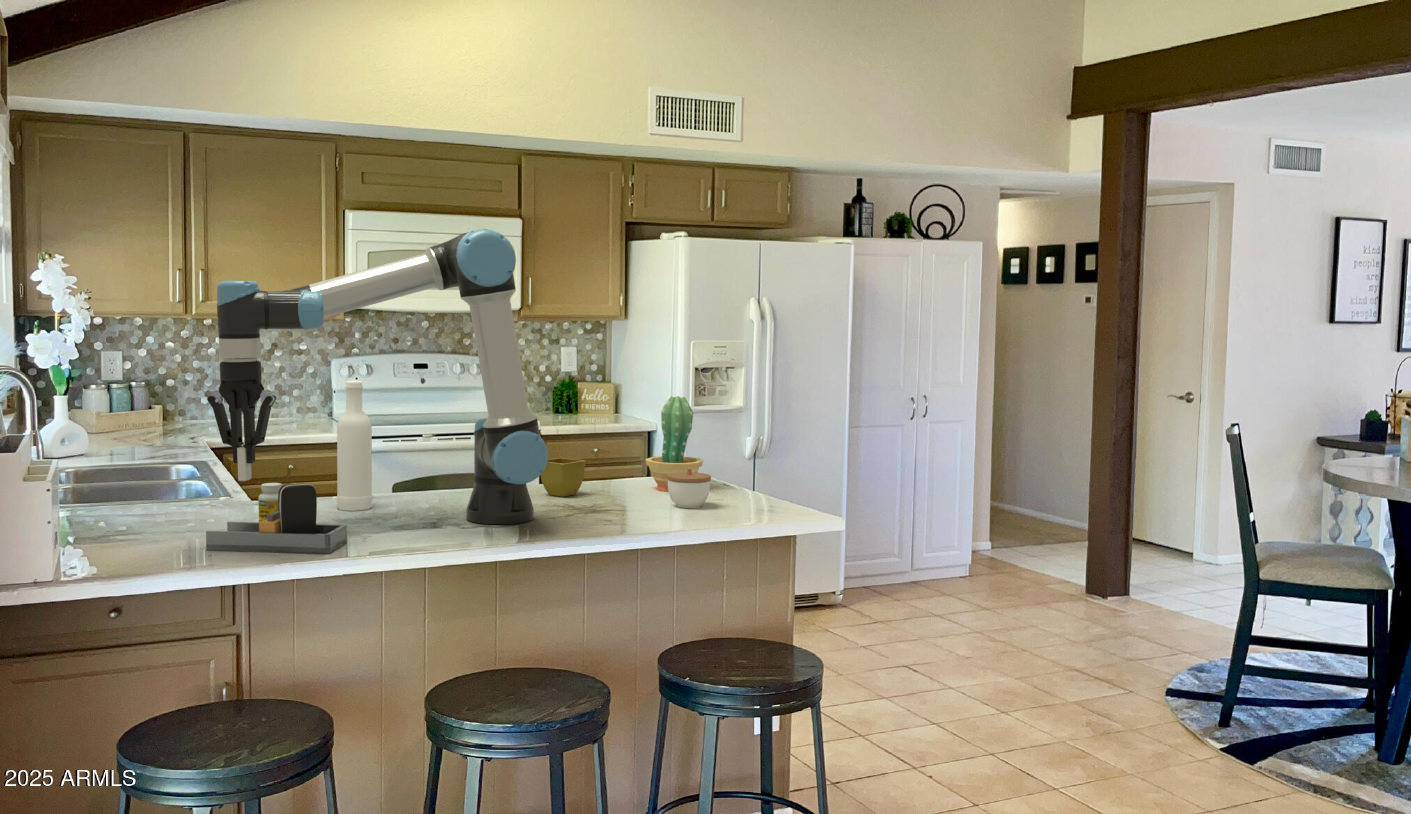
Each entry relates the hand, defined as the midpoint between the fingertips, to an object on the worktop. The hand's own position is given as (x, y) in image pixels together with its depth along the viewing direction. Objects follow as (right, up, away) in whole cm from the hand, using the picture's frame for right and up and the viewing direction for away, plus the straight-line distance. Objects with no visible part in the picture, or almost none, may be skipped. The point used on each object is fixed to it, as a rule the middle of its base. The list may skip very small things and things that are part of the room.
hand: (245, 479), depth 225 cm
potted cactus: (+82, -8, +82) cm, 116 cm away
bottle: (+8, -10, +44) cm, 45 cm away
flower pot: (+54, -9, +69) cm, 88 cm away
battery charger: (+10, -12, +1) cm, 16 cm away
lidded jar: (+87, -10, +57) cm, 104 cm away
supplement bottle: (-1, -12, +18) cm, 21 cm away
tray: (+6, -13, +1) cm, 15 cm away
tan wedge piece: (+6, -12, +1) cm, 13 cm away
